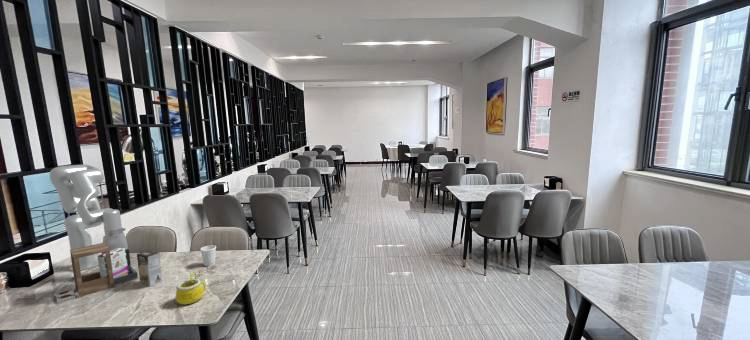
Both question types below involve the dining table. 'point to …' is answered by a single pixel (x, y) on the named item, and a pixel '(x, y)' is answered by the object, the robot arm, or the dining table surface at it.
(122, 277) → the slider
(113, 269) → the candy bar box
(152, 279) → the coffee box
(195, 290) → the yellow potted plant
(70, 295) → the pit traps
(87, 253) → the tunnel
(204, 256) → the dixie cup
